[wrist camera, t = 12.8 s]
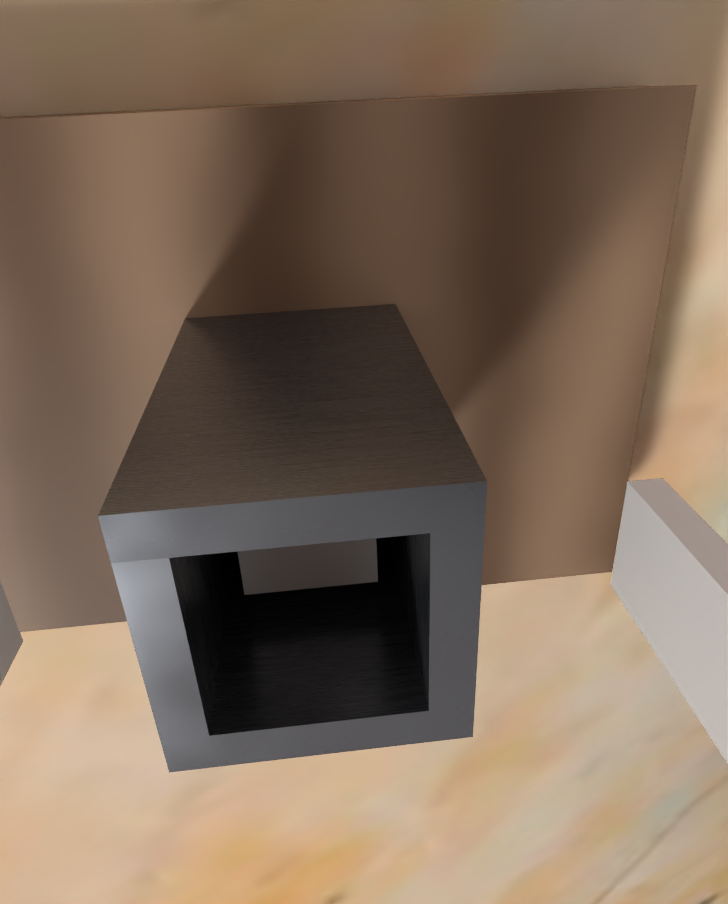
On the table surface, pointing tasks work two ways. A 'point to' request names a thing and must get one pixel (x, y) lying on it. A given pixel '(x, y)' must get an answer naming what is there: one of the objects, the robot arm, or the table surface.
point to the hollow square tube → (299, 540)
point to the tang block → (336, 301)
